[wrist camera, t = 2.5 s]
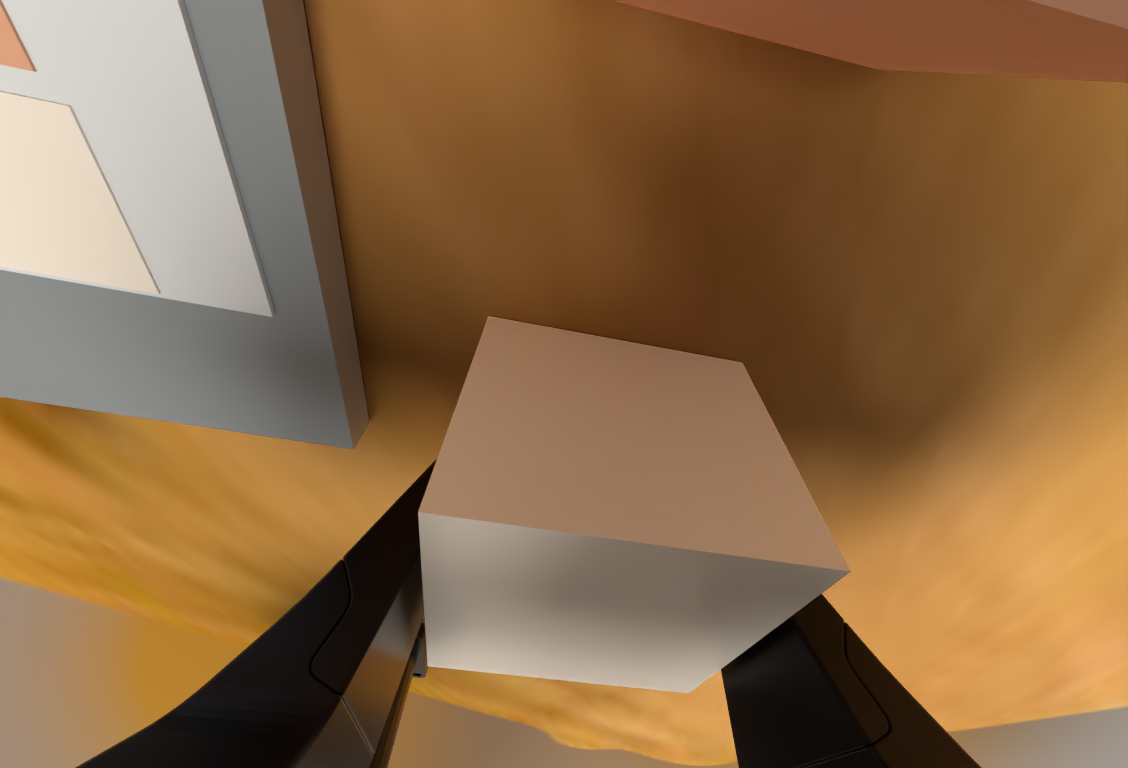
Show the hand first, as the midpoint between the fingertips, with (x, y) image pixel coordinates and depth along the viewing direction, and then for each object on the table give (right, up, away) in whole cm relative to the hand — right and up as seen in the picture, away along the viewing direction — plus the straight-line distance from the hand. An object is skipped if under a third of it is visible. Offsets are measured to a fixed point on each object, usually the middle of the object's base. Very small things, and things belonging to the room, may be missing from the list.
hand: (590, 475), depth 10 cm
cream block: (0, +1, +1) cm, 2 cm away
